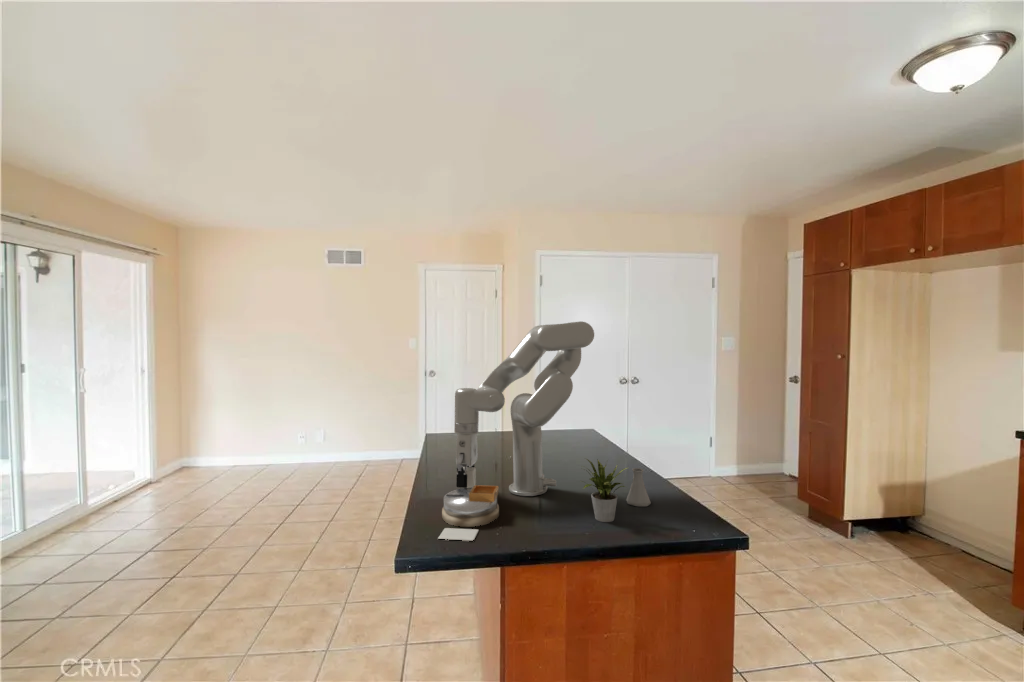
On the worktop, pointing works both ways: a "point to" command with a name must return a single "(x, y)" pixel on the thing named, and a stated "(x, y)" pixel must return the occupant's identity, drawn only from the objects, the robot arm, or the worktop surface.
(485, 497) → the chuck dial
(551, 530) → the worktop surface
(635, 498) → the flask
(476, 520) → the base
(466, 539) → the mat
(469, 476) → the white rectangular block
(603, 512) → the house plant
